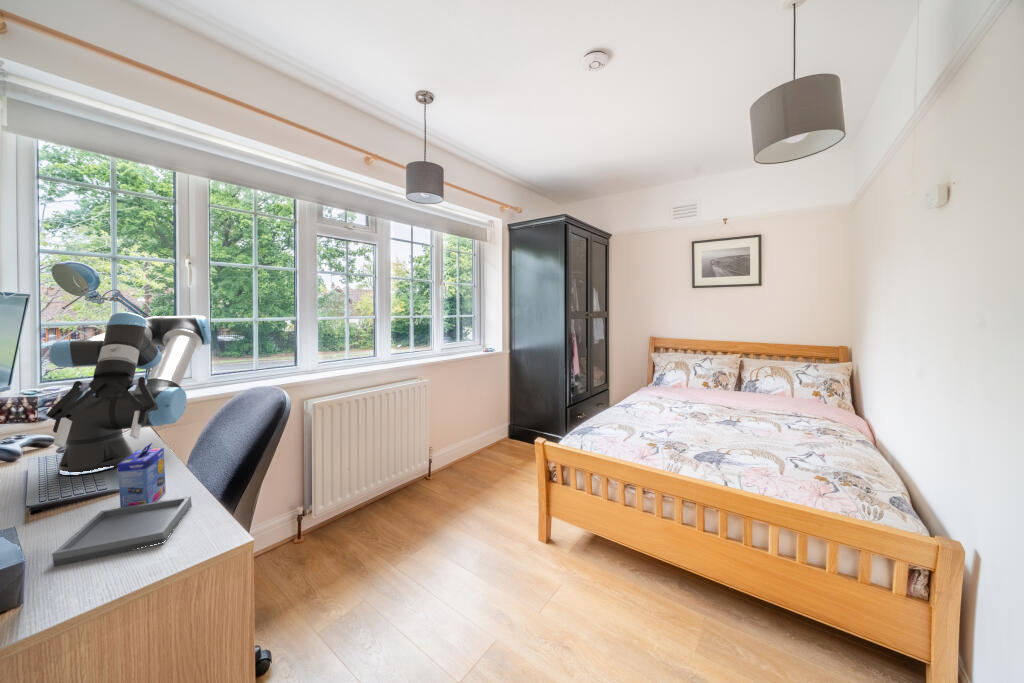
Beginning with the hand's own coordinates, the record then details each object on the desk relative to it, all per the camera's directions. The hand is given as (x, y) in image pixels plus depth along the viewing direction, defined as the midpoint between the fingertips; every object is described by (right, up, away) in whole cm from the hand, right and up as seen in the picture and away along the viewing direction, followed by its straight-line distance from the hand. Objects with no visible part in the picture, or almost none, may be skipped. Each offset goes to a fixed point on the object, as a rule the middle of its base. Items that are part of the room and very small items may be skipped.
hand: (97, 441), depth 92 cm
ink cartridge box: (+11, -16, +1) cm, 19 cm away
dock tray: (+20, -17, -11) cm, 28 cm away
